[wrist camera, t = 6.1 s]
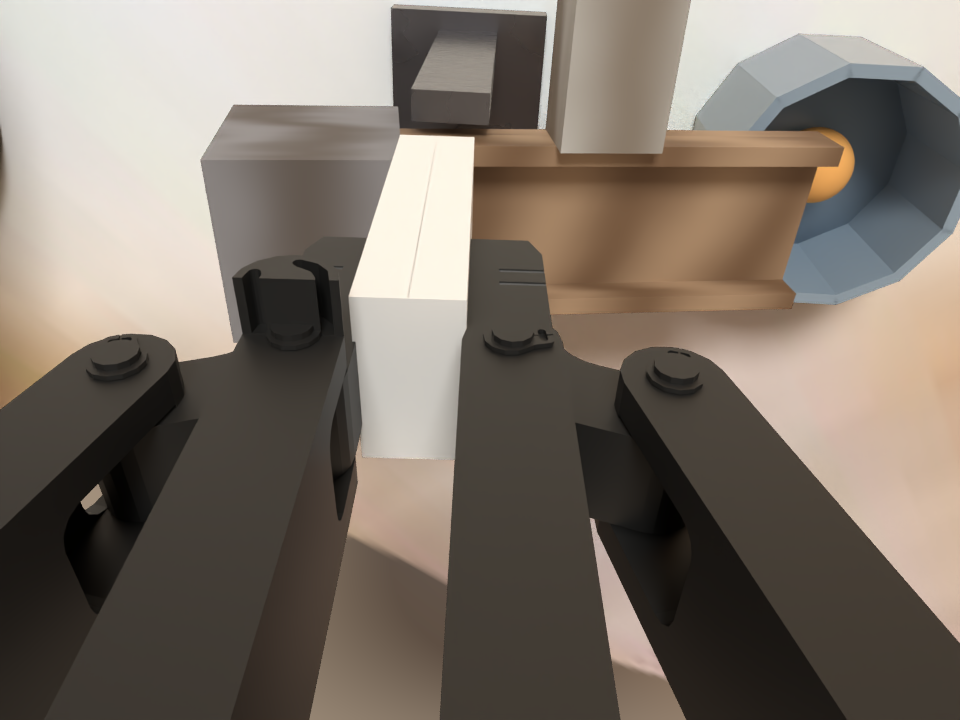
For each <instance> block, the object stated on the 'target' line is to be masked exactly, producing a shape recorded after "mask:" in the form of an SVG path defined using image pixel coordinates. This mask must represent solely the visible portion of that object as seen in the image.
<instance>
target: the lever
mask: <svg viewBox="0 0 960 720" xmlns="http://www.w3.org/2000/svg"><path fill="white" fill-rule="evenodd" d="M690 3H691V0H558V2H557V12H556V23H555V34H554V45H553V56H552V67H551V77H550V88H549V99H548V110H547V121H546V129H409V128H400V126H399V113H398V107H396V106H299V105H233V107H232V108H231V110H230V112H229V113H228V115H227V117H226V118H225V120H224V122H223V123H222V125H221V127H220V128H219V130H218V132H217V133H216V135H215V137H214V138H213V140H212V142H211V143H210V145H209V146H208V148H207V150H206V151H205V153H204V155H203V156H202V158H201V166H202V171H203V177H204V182H205V188H206V193H207V199H208V204H209V210H210V215H211V221H212V226H213V232H214V237H215V243H216V248H217V254H218V259H219V265H220V270H221V276H222V281H223V287H224V292H225V298H226V303H227V309H228V314H229V320H230V325H231V331H232V336H233V342H234V343H237V342H238V341H239V339H240V337H241V335H242V328H241V323H240V318H239V312H238V307H237V302H236V296H235V291H234V286H233V280H232V277H233V276H234V275H235V274H236V273H237V272H238V271H239V270H240V269H241V268H243V267H245V266H247V265H249V264H251V263H253V262H256V261H258V260H262V259H266V258H271V257H275V256H287V255H301V256H302V255H303V253H304V251H305V249H307V248H308V247H309V246H311V245H312V244H314V243H315V242H317V241H318V240H319V239H321V238H322V237H356V238H367V237H368V234H369V231H370V228H371V225H372V221H373V218H374V215H375V212H376V209H377V206H378V203H379V200H380V196H381V193H382V190H383V187H384V184H385V181H386V178H387V174H388V171H389V168H390V165H391V162H392V159H393V156H394V153H395V149H396V146H397V143H398V140H399V137H400V135H425V136H456V137H474V174H473V213H472V239H490V240H522V241H529V242H530V243H531V244H532V245H533V246H534V247H535V248H536V249H537V250H538V251H539V252H540V253H541V254H542V258H543V265H544V273H545V279H546V287H547V294H548V301H549V308H550V315H554V314H595V313H636V312H677V311H718V310H759V309H791V308H792V305H793V302H794V299H795V296H796V293H795V292H794V291H793V290H792V289H791V288H790V287H789V286H788V285H787V284H786V283H785V282H784V281H783V280H782V279H783V276H784V272H785V269H786V266H787V263H788V260H789V257H790V253H791V250H792V247H793V244H794V241H795V237H796V234H797V231H798V228H799V225H800V222H801V218H802V215H803V212H804V209H805V206H806V203H807V199H808V196H809V193H810V190H811V187H812V183H813V180H814V177H815V174H816V171H817V168H818V167H838V166H839V163H840V160H841V157H842V154H843V151H844V147H843V146H841V145H839V144H838V143H836V142H834V141H833V140H831V139H830V138H828V137H826V136H825V135H823V134H821V133H820V132H818V131H706V130H667V126H668V120H669V115H670V110H671V104H672V99H673V93H674V88H675V83H676V77H677V72H678V67H679V61H680V56H681V51H682V45H683V40H684V35H685V29H686V24H687V19H688V13H689V8H690Z"/></svg>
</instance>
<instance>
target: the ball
mask: <svg viewBox="0 0 960 720" xmlns="http://www.w3.org/2000/svg"><path fill="white" fill-rule="evenodd" d="M801 131H818V132H820V133H821V134H823V135H825V136H826V137H828V138H830V139H831V140H833V141H834V142H836V143H838V144H839V145H841V146H843V147H844V151H843V154H842V157H841V160H840V163H839V166H838V167H818V168H817V171H816V174H815V177H814V180H813V183H812V187H811V190H810V193H809V196H808V199H807V203H816V202H821V201H824V200H827V199H829V198H831V197H833V196H835V195H836V194H837V193H839V192H840V191H841V190H842V189H843V188H844V187H845V186H846V184H847V183H848V181H849V180H850V178H851V176H852V173H853V170H854V164H855V158H854V152H853V149H852V147H851V145H850V143H849V142H848V140H847V139H846V138H845V137H844V136H843V135H842V134H840V133H839V132H837V131H835V130H833V129H830V128H825V127H812V128H807V129H804V130H801Z"/></svg>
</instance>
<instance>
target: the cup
mask: <svg viewBox="0 0 960 720" xmlns="http://www.w3.org/2000/svg"><path fill="white" fill-rule="evenodd" d="M812 127H825V128H830V129H833V130H835V131H837V132H839V133H840V134H842V135H843V136H844V137H845V138H846V139H847V140H848V142H849V143H850V145H851V147H852V149H853V152H854V158H855V164H854V170H853V173H852V176H851V178H850V180H849V181H848V183H847V184H846V186H845V187H844V188H843V189H842V190H841V191H840V192H839V193H837V194H836V195H835V196H833V197H831V198H829V199H827V200H824V201H821V202H816V203H806V206H805V209H804V212H803V215H802V218H801V222H800V225H799V228H798V231H797V234H796V237H795V241H794V244H793V247H792V250H791V253H790V257H789V260H788V263H787V266H786V269H785V272H784V276H783V279H782V280H783V281H784V282H785V283H786V284H787V285H788V286H789V287H790V288H791V289H792V290H793V291H794V292H795V293H796V296H795V299H794V302H796V303H814V304H832V305H836V304H839V303H842V302H845V301H847V300H850V299H853V298H855V297H858V296H861V295H863V294H866V293H869V292H871V291H874V290H877V289H879V288H882V287H885V286H887V285H890V284H893V283H895V282H898V281H900V280H901V279H902V278H903V277H904V276H906V275H907V274H908V273H909V272H910V271H911V270H912V269H913V268H915V267H916V266H917V265H918V264H919V263H920V262H921V261H922V260H923V259H925V258H926V257H927V256H928V255H929V254H930V253H931V252H932V251H933V250H935V249H936V248H937V247H938V246H939V245H940V244H941V243H942V242H943V241H945V240H946V239H947V238H948V237H949V236H950V235H951V234H952V233H953V232H954V229H955V227H956V225H957V223H958V220H959V218H960V97H959V96H957V95H956V94H955V93H954V92H953V91H951V90H950V89H949V88H948V87H947V86H946V85H944V84H943V83H942V82H941V81H940V80H938V79H937V78H936V77H935V76H934V75H933V74H931V73H930V72H929V71H928V70H927V69H926V68H924V67H923V66H921V65H919V64H917V63H915V62H913V61H910V60H908V59H906V58H904V57H902V56H900V55H898V54H896V53H894V52H892V51H890V50H888V49H885V48H883V47H881V46H879V45H877V44H875V43H873V42H871V41H869V40H867V39H865V38H863V37H851V36H832V35H813V34H798V35H795V36H793V37H791V38H789V39H787V40H785V41H783V42H781V43H779V44H777V45H775V46H773V47H771V48H769V49H767V50H765V51H763V52H761V53H759V54H757V55H755V56H752V57H750V58H748V59H746V60H744V61H742V62H740V63H738V64H737V65H736V66H735V68H734V69H733V70H732V71H731V73H730V74H729V75H728V76H727V78H726V79H725V80H724V81H723V83H722V84H721V85H720V86H719V88H718V89H717V90H716V91H715V93H714V94H713V95H712V96H711V98H710V99H709V100H708V101H707V103H706V104H705V105H704V106H703V108H702V109H701V110H700V111H699V113H698V114H697V115H696V119H695V124H694V128H693V130H706V131H801V130H804V129H807V128H812Z"/></svg>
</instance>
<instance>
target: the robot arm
mask: <svg viewBox="0 0 960 720" xmlns="http://www.w3.org/2000/svg"><path fill="white" fill-rule="evenodd" d="M473 174H474V137H456V136H425V135H400V137H399V140H398V143H397V146H396V149H395V153H394V156H393V159H392V162H391V165H390V168H389V171H388V174H387V178H386V181H385V184H384V187H383V190H382V193H381V196H380V200H379V203H378V206H377V209H376V212H375V215H374V218H373V221H372V225H371V228H370V231H369V234H368V237H367V238H356V237H322V238H321V239H319V240H318V241H317V242H315V243H314V244H312V245H311V246H309V247H308V248H307V249H305V251H304V253H303V255H302V256H301V255H287V256H275V257H271V258H266V259H262V260H258V261H256V262H253V263H251V264H249V265H247V266H245V267H243V268H241V269H240V270H239V271H238V272H237V273H236V274H235V275H234V276H233V277H232V280H233V286H234V291H235V296H236V302H237V307H238V312H239V318H240V323H241V328H242V335H241V337H240V339H239V341H238V343H237V345H236V347H235V349H234V351H233V352H231V353H228V354H223V355H219V356H214V357H209V358H203V359H196V360H190V361H184V362H178V358H177V354H176V350H175V348H174V347H173V346H172V345H171V344H170V343H169V342H168V341H167V340H165V339H162V338H159V337H156V336H153V335H142V334H122V335H121V336H119V335H116V336H111V337H107V338H105V339H103V340H100V341H97V342H94V343H91V344H89V345H87V346H85V347H83V348H82V349H80V350H78V351H77V352H75V353H73V354H72V355H70V356H69V357H68V358H66V359H65V360H64V361H63V362H61V363H60V364H59V365H57V366H56V367H55V368H53V369H52V370H51V371H50V372H48V373H47V374H46V375H44V376H43V377H42V378H41V379H39V380H38V381H37V382H35V383H34V384H33V385H32V386H30V387H29V388H28V389H26V390H25V391H24V392H22V393H21V394H20V395H19V396H17V397H16V398H15V399H13V400H12V401H11V402H10V403H8V404H7V405H6V406H4V407H3V408H2V409H0V720H309V718H310V713H311V708H312V703H313V698H314V693H315V688H316V684H317V679H318V674H319V669H320V664H321V659H322V654H323V649H324V645H325V640H326V635H327V630H328V625H329V620H330V615H331V610H332V605H333V601H334V596H335V590H336V586H337V581H338V576H339V571H340V566H341V562H342V557H343V552H344V547H345V542H346V537H347V532H348V527H349V523H350V518H351V513H352V508H353V503H354V498H355V493H356V488H357V483H358V481H357V469H356V458H355V455H356V451H357V446H358V442H359V437H360V438H361V450H362V457H368V458H404V459H439V460H455V465H454V483H453V500H452V517H451V534H450V551H449V569H448V586H447V603H446V620H445V638H444V639H445V640H444V655H443V672H442V689H441V706H440V707H441V708H440V720H620V714H619V707H618V701H617V694H616V688H615V681H614V675H613V668H612V661H611V655H610V648H609V642H608V635H607V629H606V622H605V616H604V609H603V603H602V596H601V589H600V583H599V576H598V570H597V563H596V557H595V550H594V544H593V537H592V531H591V524H590V518H593V519H595V524H596V528H597V533H598V535H599V537H600V539H601V541H602V543H603V545H604V547H605V549H606V552H607V554H608V556H609V558H610V560H611V562H612V564H613V566H614V568H615V570H616V573H617V575H618V577H619V579H620V581H621V583H622V585H623V587H624V589H625V592H626V594H627V596H628V598H629V600H630V602H631V604H632V606H633V608H634V610H635V613H636V615H637V617H638V619H639V621H640V623H641V625H642V627H643V629H644V632H645V634H646V636H647V638H648V640H649V642H650V644H651V646H652V648H653V650H654V653H655V655H656V657H657V659H658V661H659V663H660V665H661V667H662V669H663V672H664V674H665V676H666V678H667V680H668V682H669V684H670V686H671V688H672V690H673V692H674V694H675V697H676V699H677V701H678V703H679V705H680V707H681V709H682V712H683V714H684V716H685V718H686V720H960V643H959V642H958V641H957V640H956V638H955V637H954V636H953V635H952V634H951V633H950V631H949V630H948V629H947V628H946V627H945V626H944V625H943V623H942V622H941V621H940V620H939V619H938V618H937V616H936V615H935V614H934V613H933V612H932V611H931V610H930V608H929V607H928V606H927V605H926V604H925V603H924V601H923V600H922V599H921V598H920V597H919V596H918V595H917V593H916V592H915V591H914V590H913V589H912V588H911V587H910V585H909V584H908V583H907V582H906V581H905V580H904V578H903V577H902V576H901V575H900V574H899V573H898V572H897V570H896V569H895V568H894V567H893V566H892V565H891V563H890V562H889V561H888V560H887V559H886V558H885V557H884V555H883V554H882V553H881V552H880V551H879V550H878V548H877V547H876V546H875V545H874V544H873V543H872V542H871V540H870V539H869V538H868V537H867V536H866V535H865V533H864V532H863V531H862V530H861V529H860V528H859V527H858V525H857V524H856V523H855V522H854V521H853V520H852V519H851V517H850V516H849V515H848V514H847V513H846V512H845V510H844V509H843V508H842V507H841V506H840V505H839V504H838V502H837V501H836V500H835V499H834V498H833V497H832V495H831V494H830V493H829V492H828V491H827V490H826V489H825V487H824V486H823V485H822V484H821V483H820V482H819V480H818V479H817V478H816V477H815V476H814V475H813V474H812V472H811V471H810V470H809V469H808V468H807V467H806V465H805V464H804V463H803V462H802V461H801V460H800V459H799V457H798V456H797V455H796V454H795V453H794V452H793V451H792V449H791V448H790V447H789V446H788V445H787V444H786V442H785V441H784V440H783V439H782V438H781V437H780V436H779V434H778V433H777V432H776V431H775V430H774V429H773V427H772V426H771V425H770V424H769V423H768V422H767V421H766V419H765V418H764V417H763V416H762V415H761V414H760V412H759V411H758V410H757V409H756V408H755V407H754V406H753V404H752V403H751V402H750V401H749V400H748V399H747V398H746V396H745V395H744V394H743V393H742V392H741V391H740V389H739V388H738V387H737V386H736V385H735V384H734V383H733V381H732V380H731V379H730V378H729V377H728V376H727V374H726V373H725V372H724V371H723V370H722V369H721V368H719V367H718V366H717V365H716V364H714V363H713V362H712V361H711V360H709V359H707V358H705V357H703V356H700V355H698V354H696V353H694V352H691V351H688V350H684V349H679V348H673V347H650V348H646V349H642V350H638V351H635V352H634V353H632V354H631V355H630V356H628V357H627V358H625V359H624V361H623V364H622V367H621V369H620V370H615V369H611V368H606V367H602V366H598V365H595V364H592V363H588V362H585V361H583V360H581V359H579V358H577V357H575V356H572V355H571V354H570V353H568V352H567V351H566V350H564V347H563V342H562V340H561V338H560V336H559V334H558V332H557V331H556V330H554V329H553V328H552V322H551V315H550V308H549V301H548V294H547V287H546V279H545V273H544V265H543V258H542V254H541V253H540V252H539V251H538V250H537V249H536V248H535V247H534V246H533V245H532V244H531V243H530V242H529V241H522V240H490V239H472V213H473ZM97 484H99V487H100V489H101V492H102V494H103V495H102V496H101V497H100V498H99V499H98V500H97V501H96V503H95V504H93V505H92V506H90V507H89V508H88V509H86V510H85V509H84V508H83V507H82V504H81V501H82V500H83V499H84V497H85V496H86V495H87V494H88V493H89V492H90V491H91V490H92V489H93V488H94V487H95V486H96V485H97Z"/></svg>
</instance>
